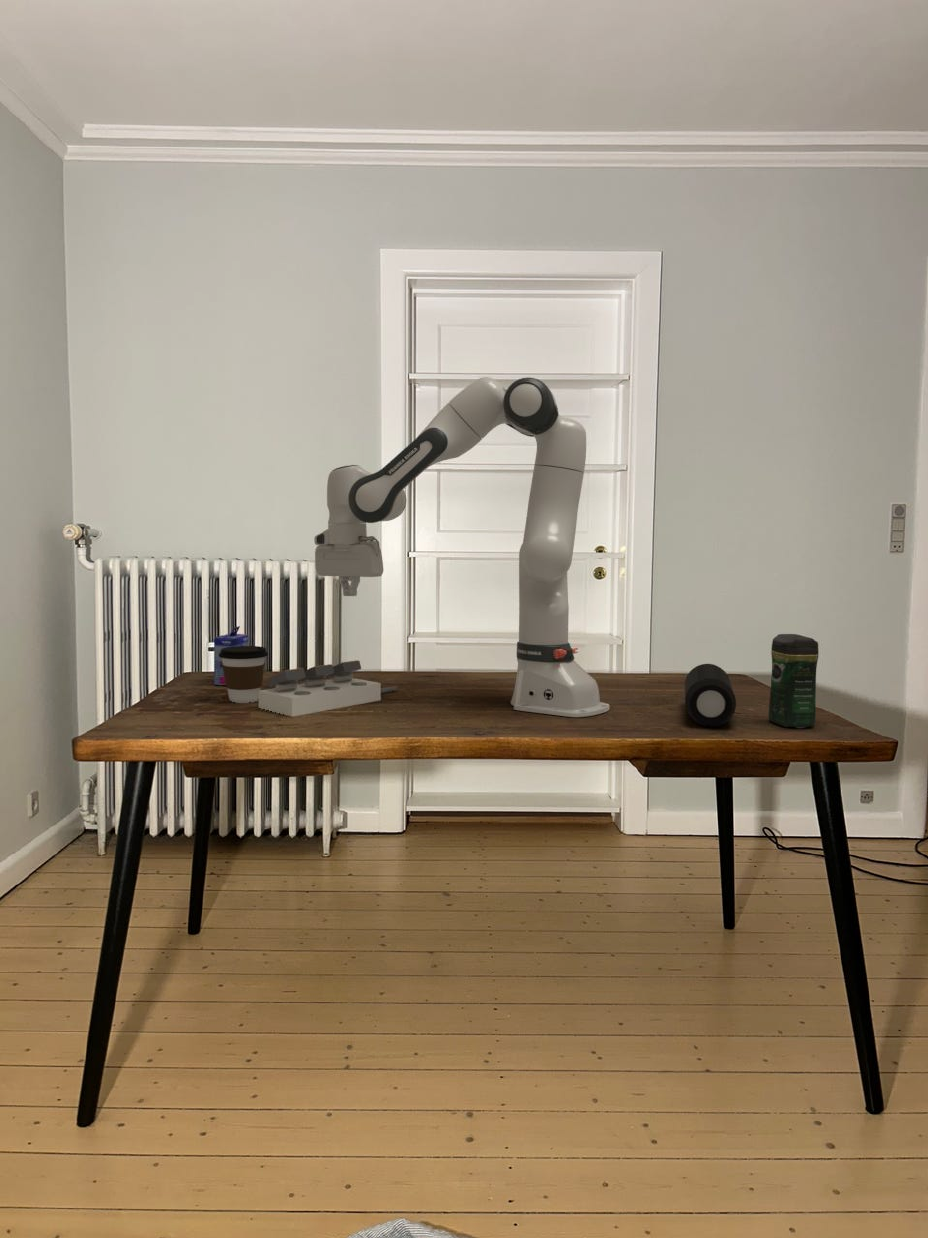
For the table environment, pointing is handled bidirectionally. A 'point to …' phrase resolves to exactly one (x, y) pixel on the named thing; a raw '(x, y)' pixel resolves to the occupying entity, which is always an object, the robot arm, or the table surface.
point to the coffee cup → (243, 672)
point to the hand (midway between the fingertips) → (350, 595)
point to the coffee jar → (793, 680)
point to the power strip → (320, 695)
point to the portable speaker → (709, 695)
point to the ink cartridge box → (224, 642)
